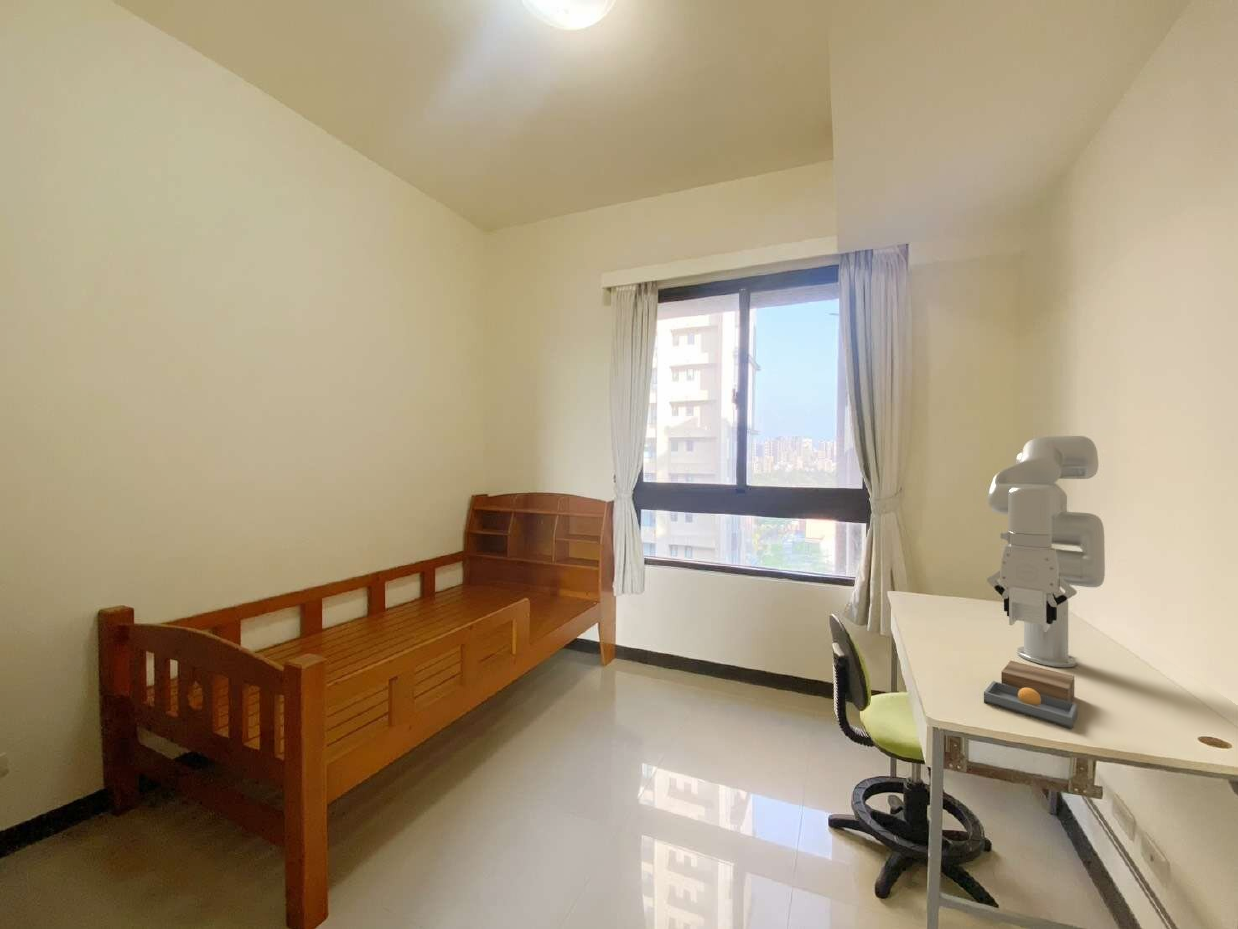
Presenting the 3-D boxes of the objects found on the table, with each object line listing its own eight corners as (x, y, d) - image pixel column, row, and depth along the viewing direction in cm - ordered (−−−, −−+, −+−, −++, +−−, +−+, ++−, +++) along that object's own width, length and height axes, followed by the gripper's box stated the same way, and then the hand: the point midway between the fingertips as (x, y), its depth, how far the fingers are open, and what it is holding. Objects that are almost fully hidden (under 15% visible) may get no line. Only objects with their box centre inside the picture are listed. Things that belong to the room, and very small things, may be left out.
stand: (1010, 680, 124) (1010, 660, 124) (1074, 697, 115) (1074, 676, 115) (1001, 692, 117) (1001, 671, 117) (1068, 711, 108) (1068, 689, 108)
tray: (993, 690, 118) (993, 680, 118) (1077, 714, 107) (1077, 703, 107) (983, 702, 112) (983, 692, 112) (1071, 729, 101) (1071, 717, 101)
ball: (1019, 703, 112) (1020, 686, 113) (1041, 710, 109) (1043, 692, 110) (1015, 702, 109) (1017, 684, 110) (1038, 709, 106) (1039, 690, 107)
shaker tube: (1014, 619, 115) (1014, 581, 114) (1050, 625, 110) (1050, 586, 110) (1008, 625, 110) (1008, 586, 110) (1045, 632, 106) (1045, 591, 105)
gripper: (978, 538, 114) (979, 613, 114) (1079, 547, 101) (1079, 633, 101) (987, 534, 119) (987, 607, 119) (1084, 543, 106) (1084, 624, 106)
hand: (1029, 618), depth 110 cm, fingers closed on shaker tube, 6 cm apart
